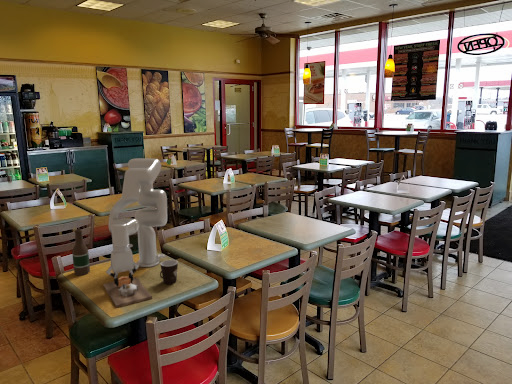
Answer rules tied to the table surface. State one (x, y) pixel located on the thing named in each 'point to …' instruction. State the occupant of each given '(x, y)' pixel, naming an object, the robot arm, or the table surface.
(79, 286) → the table surface
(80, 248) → the beer bottle
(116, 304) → the gear board
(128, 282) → the terracotta gear
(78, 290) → the table surface
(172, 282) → the coffee mug
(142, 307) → the table surface
